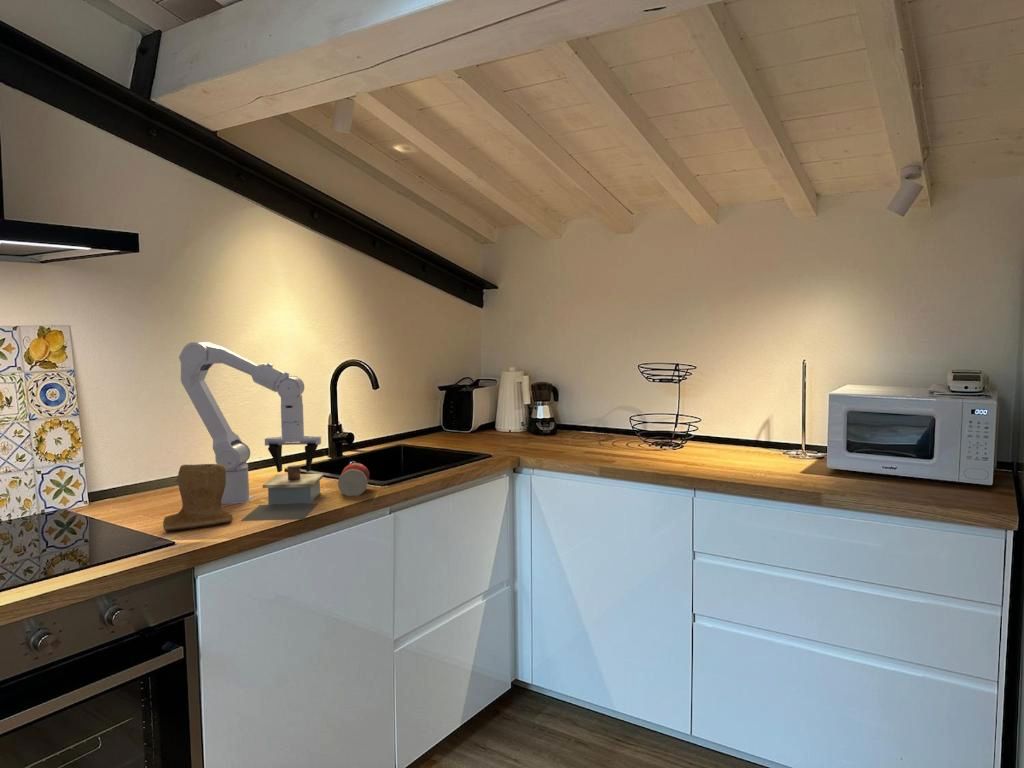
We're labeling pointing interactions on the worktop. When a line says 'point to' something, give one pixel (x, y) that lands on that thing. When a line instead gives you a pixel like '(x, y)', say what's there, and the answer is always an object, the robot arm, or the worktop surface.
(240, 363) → the robot arm
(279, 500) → the gray lidded box
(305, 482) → the birch lid
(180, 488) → the brown flared stand
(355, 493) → the canned food
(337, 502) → the worktop surface
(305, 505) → the rubber mat
